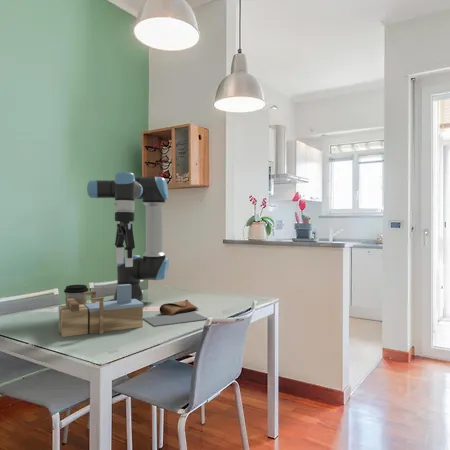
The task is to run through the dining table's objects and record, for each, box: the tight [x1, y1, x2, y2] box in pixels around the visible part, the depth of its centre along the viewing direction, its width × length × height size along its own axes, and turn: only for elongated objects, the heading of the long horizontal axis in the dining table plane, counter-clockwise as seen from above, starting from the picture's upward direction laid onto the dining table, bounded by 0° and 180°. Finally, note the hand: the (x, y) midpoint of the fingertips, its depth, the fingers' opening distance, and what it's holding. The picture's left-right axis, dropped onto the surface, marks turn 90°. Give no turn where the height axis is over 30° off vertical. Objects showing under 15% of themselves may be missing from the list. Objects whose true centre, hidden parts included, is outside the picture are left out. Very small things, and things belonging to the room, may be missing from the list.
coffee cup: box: [63, 284, 90, 304], centre depth 160 cm, size 9×9×15 cm
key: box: [65, 297, 79, 312], centre depth 147 cm, size 16×2×2 cm, turn 29°
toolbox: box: [58, 291, 144, 338], centre depth 153 cm, size 15×30×13 cm, turn 119°
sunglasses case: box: [159, 299, 199, 315], centre depth 182 cm, size 18×7×7 cm
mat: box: [143, 311, 208, 327], centre depth 168 cm, size 14×24×1 cm, turn 119°
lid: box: [84, 284, 145, 312], centre depth 155 cm, size 11×21×9 cm, turn 119°
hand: (124, 265), depth 157 cm, fingers open, 13 cm apart
